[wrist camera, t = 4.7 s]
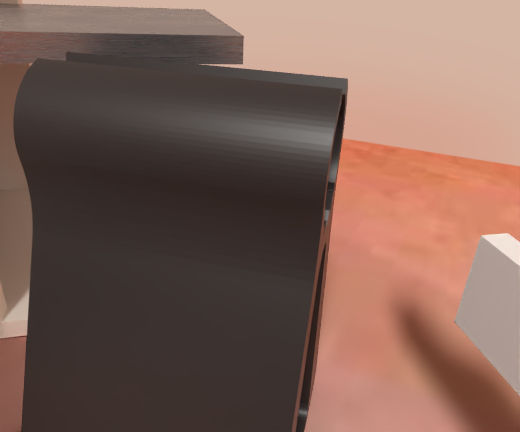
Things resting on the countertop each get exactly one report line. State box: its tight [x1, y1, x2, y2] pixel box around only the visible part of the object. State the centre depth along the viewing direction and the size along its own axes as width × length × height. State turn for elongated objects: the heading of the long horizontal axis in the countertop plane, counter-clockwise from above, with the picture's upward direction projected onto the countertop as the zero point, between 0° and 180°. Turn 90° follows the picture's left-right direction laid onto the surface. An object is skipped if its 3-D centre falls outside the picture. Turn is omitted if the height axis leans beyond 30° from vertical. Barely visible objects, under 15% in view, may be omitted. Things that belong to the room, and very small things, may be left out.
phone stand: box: [13, 52, 348, 432], centre depth 12 cm, size 9×6×12 cm, turn 165°
